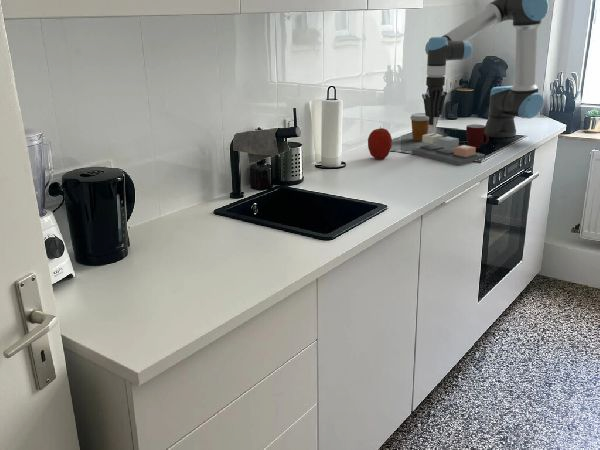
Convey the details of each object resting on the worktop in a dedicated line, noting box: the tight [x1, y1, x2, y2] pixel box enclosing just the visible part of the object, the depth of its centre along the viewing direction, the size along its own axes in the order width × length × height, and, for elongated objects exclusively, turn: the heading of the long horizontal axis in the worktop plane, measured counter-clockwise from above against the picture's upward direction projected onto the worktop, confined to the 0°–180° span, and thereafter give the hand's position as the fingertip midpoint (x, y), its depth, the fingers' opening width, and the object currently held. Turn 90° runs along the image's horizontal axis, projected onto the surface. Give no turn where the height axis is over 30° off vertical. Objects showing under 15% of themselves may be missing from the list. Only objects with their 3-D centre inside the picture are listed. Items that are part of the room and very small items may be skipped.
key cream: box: [421, 132, 444, 145], centre depth 256 cm, size 6×6×3 cm
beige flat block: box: [454, 144, 477, 157], centre depth 243 cm, size 6×6×3 cm
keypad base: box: [411, 143, 486, 167], centre depth 251 cm, size 16×26×3 cm, turn 35°
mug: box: [465, 123, 490, 150], centre depth 261 cm, size 10×8×10 cm
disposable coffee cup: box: [410, 112, 429, 142], centre depth 279 cm, size 10×10×12 cm
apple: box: [367, 126, 393, 160], centre depth 248 cm, size 10×10×14 cm
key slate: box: [437, 136, 460, 148], centre depth 249 cm, size 6×6×3 cm
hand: (432, 132), depth 255 cm, fingers closed
